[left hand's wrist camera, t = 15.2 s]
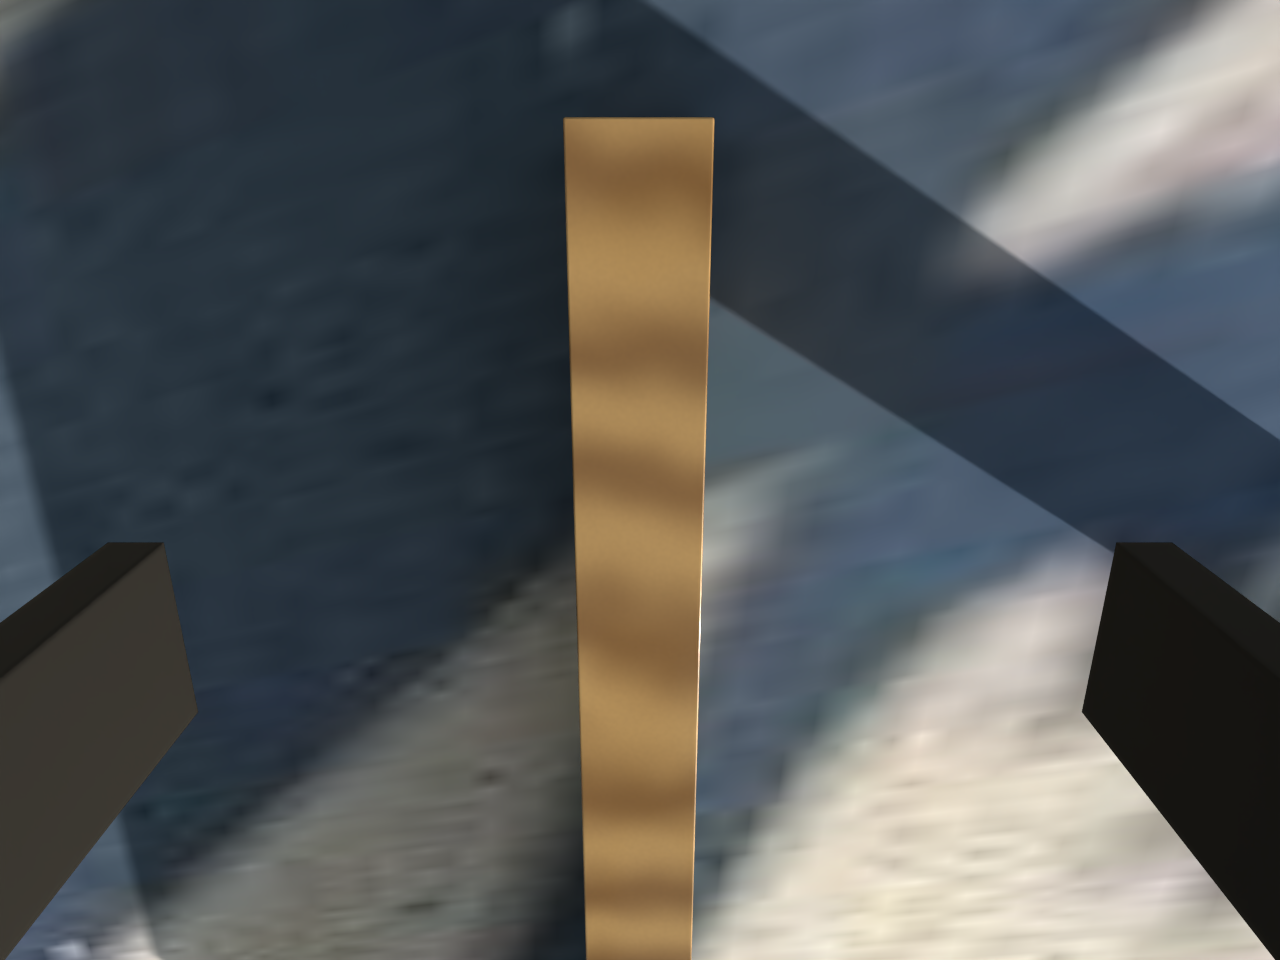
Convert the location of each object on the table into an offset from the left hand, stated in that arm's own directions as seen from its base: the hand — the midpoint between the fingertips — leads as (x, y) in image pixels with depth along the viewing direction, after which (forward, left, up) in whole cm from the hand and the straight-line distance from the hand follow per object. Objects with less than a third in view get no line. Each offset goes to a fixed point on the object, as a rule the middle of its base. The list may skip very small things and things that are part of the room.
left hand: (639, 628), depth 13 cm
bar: (+7, +23, -29) cm, 38 cm away
